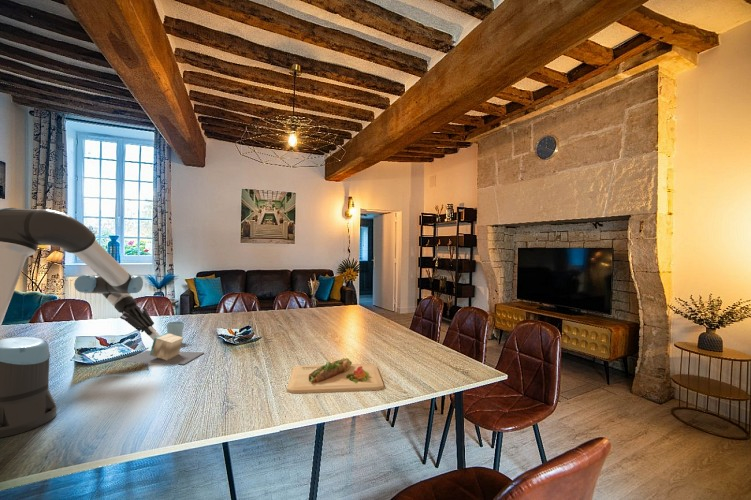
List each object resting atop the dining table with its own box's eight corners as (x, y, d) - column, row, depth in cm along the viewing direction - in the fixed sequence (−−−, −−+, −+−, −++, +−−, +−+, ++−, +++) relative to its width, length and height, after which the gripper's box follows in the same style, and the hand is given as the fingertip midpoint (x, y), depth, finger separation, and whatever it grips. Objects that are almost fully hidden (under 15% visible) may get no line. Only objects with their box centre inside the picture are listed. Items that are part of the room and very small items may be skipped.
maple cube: (162, 349, 147) (178, 354, 147) (149, 355, 139) (166, 360, 139) (167, 332, 147) (183, 337, 147) (154, 337, 139) (171, 342, 139)
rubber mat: (204, 353, 150) (204, 352, 150) (183, 365, 135) (184, 363, 135) (146, 351, 151) (146, 350, 151) (120, 362, 136) (120, 361, 136)
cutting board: (375, 367, 139) (375, 350, 139) (384, 391, 116) (384, 370, 116) (293, 369, 135) (294, 352, 135) (286, 395, 111) (286, 374, 111)
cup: (163, 345, 161) (163, 324, 161) (170, 340, 169) (171, 321, 169) (179, 345, 162) (179, 324, 162) (186, 340, 170) (186, 321, 170)
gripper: (128, 304, 150) (162, 340, 150) (104, 309, 137) (140, 349, 137) (139, 293, 150) (173, 329, 150) (116, 297, 137) (152, 337, 137)
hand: (157, 338), depth 143 cm, fingers closed
